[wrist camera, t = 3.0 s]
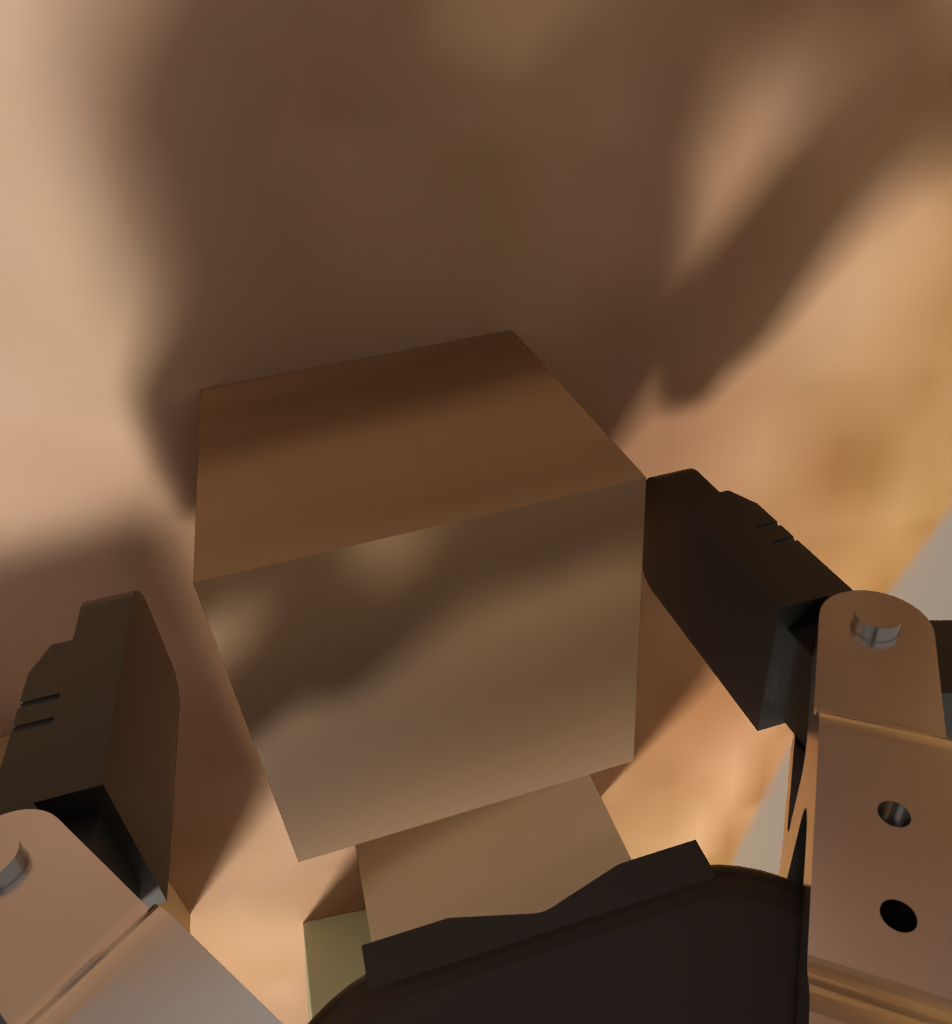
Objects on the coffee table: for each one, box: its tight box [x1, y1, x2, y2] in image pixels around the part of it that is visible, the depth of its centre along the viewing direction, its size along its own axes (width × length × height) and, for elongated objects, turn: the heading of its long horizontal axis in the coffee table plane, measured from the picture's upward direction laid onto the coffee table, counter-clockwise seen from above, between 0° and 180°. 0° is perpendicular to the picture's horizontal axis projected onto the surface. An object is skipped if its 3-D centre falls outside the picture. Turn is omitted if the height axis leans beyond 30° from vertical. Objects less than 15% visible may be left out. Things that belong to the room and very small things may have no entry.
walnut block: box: [193, 330, 646, 862], centre depth 12 cm, size 5×5×5 cm
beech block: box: [355, 774, 631, 942], centre depth 17 cm, size 5×5×5 cm
